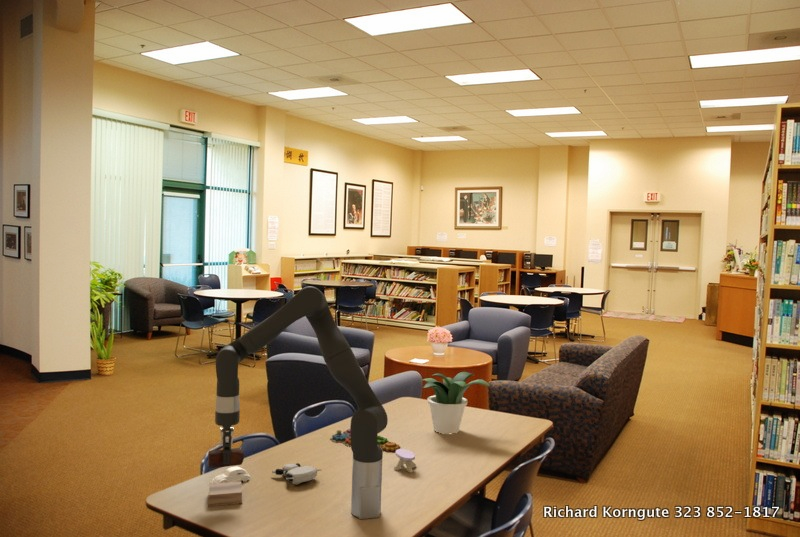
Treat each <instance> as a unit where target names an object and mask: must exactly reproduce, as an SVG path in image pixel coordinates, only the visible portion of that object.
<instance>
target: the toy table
mask: <svg viewBox="0 0 800 537" xmlns="http://www.w3.org/2000/svg"><path fill="white" fill-rule="evenodd" d="M395 456H396V457H397V458H398V459H399V461H397V463H396V464H395V465H394V466H393V470H394V471H400V470H399V469H401V470H402V467H404V466H406V471H407V470H408V471H407V472H408V473H412V472H413V469H412V468H416V467H417V464H416V463H415V462H414V460H415V459H416V454H415V453H414V452H412V451H411V450H408V449H406V448H405V449H404V448H400V449H398V450H395ZM401 466H402V467H401ZM415 466H416V467H415ZM411 467H412V468H411Z"/></svg>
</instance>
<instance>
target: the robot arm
mask: <svg viewBox="0 0 800 537" xmlns="http://www.w3.org/2000/svg"><path fill="white" fill-rule="evenodd" d="M304 317H305V318H306V320H307V321H308V323H309V324H310V326H311V327H312V330H313V331H314V334H315V335H316V339H317V342H318V347H319V351H320V352H321V355H322V358H323V360H324V362H325V364H326V367H327V368H328V371H329V373H330V374H331V376H332V377H333V379H334V380H335V381H336V382H337V383H338V384H340V386H341V387H343V389H345V391H347V392H348V393H349V394H350V396H351V397H352V399H353V401H354V402H355V404H356V406H357V410H355V411H354V413H353V414H352V416H351V418H350V428H349V429H350V437H351V446H350V449H351V453H352V466H351V469H352V472H351V474H352V475H351V498H350V499H351V503H350V504H351V505H350V506H351V507H350V509H351V510H350V511H351V513H350V514H352V515H353V516H354V517H357V518H358V519H359V520H362V519H365V520H367V519H374V518H375V519H376V518H380V514H381V512H382V510H381V509H382V485H383V484H382V481H383V480H382V478H383V455H384V452H383V450H382V448H381V446H378V443H377V436H378V434H379V433H381V432H383V431H384V430H385V429H386V428H387V425H388V422H389V421H388V420H389V419H388V415H387V412H386V410H385V408H384V406H383V405H382V403H381V401H380V400H379V398H378V396H377V394H375V392H374V391H373V389H372V387H371V385H370V384H369V381H368V379H367V378H366V375H365V374H364V372H363V370H362V368H361V365H360V364H359V362H358V359H357V357H356V355H355V354H354V352H353V349H352V347H351V346H350V344H349V342H348V340H347V339H346V337H345V336H344V334H343V332H342V331H341V330H340V328H339V327H338V325H337V323H336V321H335V319H334V317H333V314H332V312H331V310H330V306H329V304H328V301H327V298H326V296H325V294H324V293H323V292H322V291H321V290H320V289H319V288H317V287H316V286H313V285H312V286H305V287H303V288H301V289H300V290H299V291H297V293H296V294H294V295H293V296H292V297H291V298H290V299H289V300H288V301H287V302H286V303H285V304H284V305H283V306H282V307H280V308H279V309H278V310H276V311H275V312H273V314H271V315H269V316H268V317H267V318H265V319H264V320H262V321H261V322H260V323H257V324H256V325H254V326H253V327H252V328H251V329H249V330H247V331H246V332H245V333H244V334H242V335H241V336H240V337H238V338H237V339H235V340H233V341H231V342H230V343H228V344H226V345H224V347H222V348H221V349H220V351H218V353H217V354H216V357H215V372H216V373H215V374H216V397H215V405H214V406H215V408H214V411H215V412H214V414H215V415H214V417H215V418H214V423H215V425H217V426H219V427H220V437H221V441H220V442H221V444H220V446H222V449H221V450H222V452H223V464H224V465H227V464H230V453H231V449H232V445H233V436H234V432H235V431H234V427H232V426H236V425H238V424H240V419H241V418H240V412H241V411H240V410H241V408H240V406H241V405H240V404H241V401H240V378H239V363H241V362H242V361H243V360H245V359H246V358H248V357H249V356H250V355H251V354H256V353H257V352H258V351H260V350H262V349H263V348H264V347H266V346H267V345H269V344H270V343H271V342H273V341H274V340H275V339H276V338H277V337H279V335H281V333H283V332H284V331H285V330H286V329H287V328H288V327H289V326H291V325H292V324H294V323H296V321H299V320H301V319H302V318H304Z"/></svg>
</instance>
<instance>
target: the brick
mask: <svg viewBox="0 0 800 537" xmlns="http://www.w3.org/2000/svg"><path fill="white" fill-rule="evenodd" d="M222 450H223V449H211V450H208V453H207V454H208V455H207V456H208V458H207V464H208V465H207V466H208V468H210V469H212V468H213V469H214V468H216V469H217V468H225V467H226V468H227V467H236V466H241V465H242V464H243V462H244V460H245V459H244V455H245V454H244V450H242V449H241V448H239V447H237V448H231V453H230V464H227V465H224V464H223V452H222Z"/></svg>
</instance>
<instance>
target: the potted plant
mask: <svg viewBox="0 0 800 537" xmlns="http://www.w3.org/2000/svg"><path fill="white" fill-rule="evenodd" d="M472 376H473V377H474V376H475V374H474V373H471V372H468V371H461V372H459V373H457V374H456V375H455V376H454V377H453V378H452V377H447V376H445V374H442V373H437V372H436V373H434V374H432V375H431V377H429V378H424V379H421V382H423V381H424V382H426V383H425V385H424V386H423V387H422V389H424V390H425V389H430V388H432V390H433V392H434V394H433V395H431V396H428V397H427V398H426V399H427V404H428V405H429V408H430V414H431V421H432V426H433V427H432V428H433V431H434V430H435V431H436V432H435V431H434V432H435V433H437V432H439V433H438V434H440V433H444V434H443V435H450V434H449V433H456V432H458V431H460V428H461V423H462V418H463V415H464V413H465V412H464V411H465V408H466V407H467V405H468V402H469V401H468V399H467V398H465V397H463V396H464V394H465V392H466V390H467V389H468V388H469V387H471V386H472V385H475V384H476V385H482V386H486V387H491V385H490V384H489V383H488V382H487V381H485V380H484V379H476V380H472V381H470V382H468V383H466V381H467V380H469V378H471V377H472ZM432 377H440V378H442V382H441V381H438V380H436V379H435V378H432ZM458 433H459V432H458ZM456 434H457V433H456Z"/></svg>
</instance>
